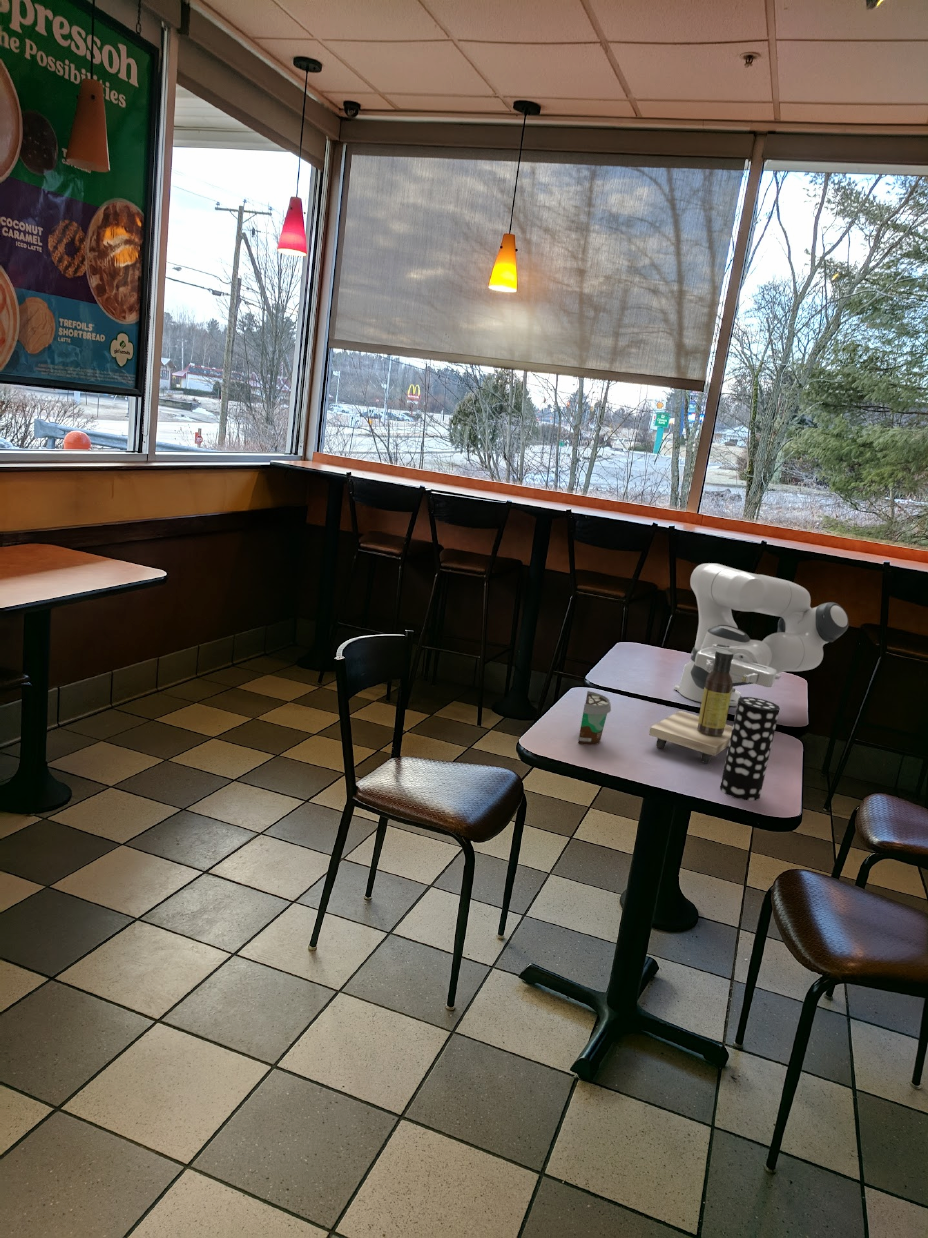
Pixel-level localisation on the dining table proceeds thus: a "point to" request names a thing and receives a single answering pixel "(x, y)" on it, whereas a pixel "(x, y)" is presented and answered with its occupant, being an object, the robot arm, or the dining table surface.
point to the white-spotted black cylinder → (749, 748)
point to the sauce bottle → (716, 696)
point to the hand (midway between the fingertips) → (726, 673)
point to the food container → (593, 718)
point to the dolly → (689, 735)
